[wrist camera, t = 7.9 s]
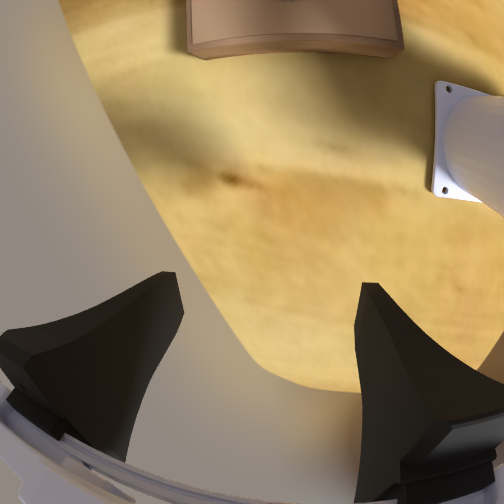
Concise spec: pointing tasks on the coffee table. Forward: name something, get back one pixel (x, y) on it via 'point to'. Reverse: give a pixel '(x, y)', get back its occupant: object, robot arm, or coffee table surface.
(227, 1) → the brown rectangular block
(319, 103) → the coffee table surface
